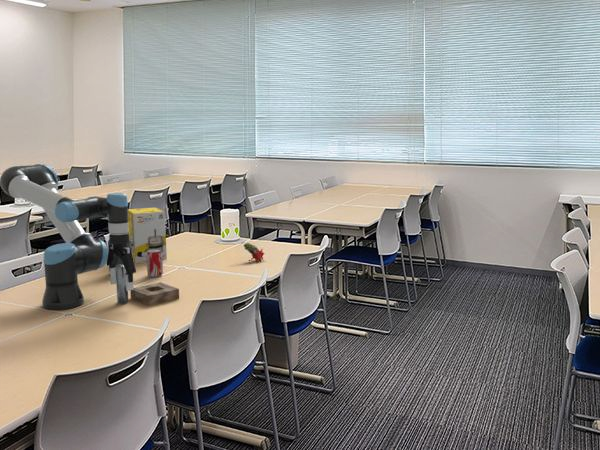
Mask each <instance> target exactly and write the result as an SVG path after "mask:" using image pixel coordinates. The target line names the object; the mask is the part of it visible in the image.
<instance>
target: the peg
mask: <svg viewBox="0 0 600 450" xmlns="http://www.w3.org/2000/svg"><path fill="white" fill-rule="evenodd" d="M115 268H116V284H115V285H116V299H117V304H119V305H125V304H129V291H126V275H125V273H126V270H125V267H124V265H123V264H120V265H116V266H115Z"/></svg>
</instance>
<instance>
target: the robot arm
mask: <svg viewBox="0 0 600 450" xmlns="http://www.w3.org/2000/svg"><path fill="white" fill-rule="evenodd" d="M58 178H59V177H58V174H57V172H56V171H55V169H54V168H53V167H51V166H50V165H48V164H42V163H41V164H40V163H39V164H29V165H15V166H10V167H8V168H6V169H5V170H4V171H3V172H2V174H1V175H0V188H1V189H2V191H3V192H4V193H5V194H6V195H8V196H9V197H12V198H14V199H23V200H25V201H27V202H29V203H31V204H32V205H35V206H37V207H40V208H42V209H43V212H45V214H46V215H47V217H48V218H49V220H50V221H51V223H52V224H53V226H54V228H56V230H57V232H58V233H59V235H60V236H61V237H62V239H63V240H64V242H63V243H56V244H53V245H50V246H48V247H47V248H45V250H44V251H43V265H44V278H45V279H44V280H45V290H44V294H43V297H42V300H41V301H42V303H41V304H42V308H44V309H45V310H51V311H52V310H53V311H58V310H59V311H61V310H68V309H69V310H70V309H73V308H74V309H75V308H77V307H80V306H81V305H83V304H84V302H85V299H84V295H83V293H82V290H81V288H80V285H79V281H78V275H82V274H84V273H85V274H86V273H88V272H93V271H97V270H98V269H102V268H104V267H105V266H108V267H109V268H110V271H109V273H110V275H109V276H110V285H116V268H115V266H116V265H117V262H118V259H119V258H120V259H121V260H122V262H123V265H124V267H125V270H126V273H125V275H126V291H128V292H129V291H130V290H134V288H135V287H134V274H136V272H137V269H136V266H135V261H134V260H133V257H132V250H131V248H127V245H126V244H127V243H129V241H130V239H129V233H127V232H129V223H128V209H129V203H128V196H127V194H126V193H125V192H111V193H107V195H106V197H104V196H103V197H101V196H87V198H84V199H72V198H69V197H67V196H66V195H62V194H60V193H59V192H58V188H59V186H58V185H59V179H58ZM97 217H99V218H100V217H103V218H108V220H107V221H108V222H107V224H108V233H109V234H108V236H109V237H108V240H109V241H110V244H109V252H108V245H107V244H106V243H105V242H104V241H102V240H101V239H95V237H94V236H93V235H92V233H89V232H86V231H85V230H84V228H83V227H82V225H81V224H80V222H79V220H86V219H92V218H97ZM109 268H108V269H109Z"/></svg>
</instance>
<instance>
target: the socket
mask: <svg viewBox="0 0 600 450" xmlns="http://www.w3.org/2000/svg"><path fill="white" fill-rule="evenodd" d="M129 291H130V292H129V293H130V299H132V300H134V301H136V302H139V303H141V304H143V305H146V306H149V307H150V306H153V305H157V304H162V303H166V302H170V301H174V300H178V299H179V300H180V288H178V287H175V286H171V285H169V284H167V283H164V282H155V283H152V284H147V285H142V286H136V287H134V290H129Z"/></svg>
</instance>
